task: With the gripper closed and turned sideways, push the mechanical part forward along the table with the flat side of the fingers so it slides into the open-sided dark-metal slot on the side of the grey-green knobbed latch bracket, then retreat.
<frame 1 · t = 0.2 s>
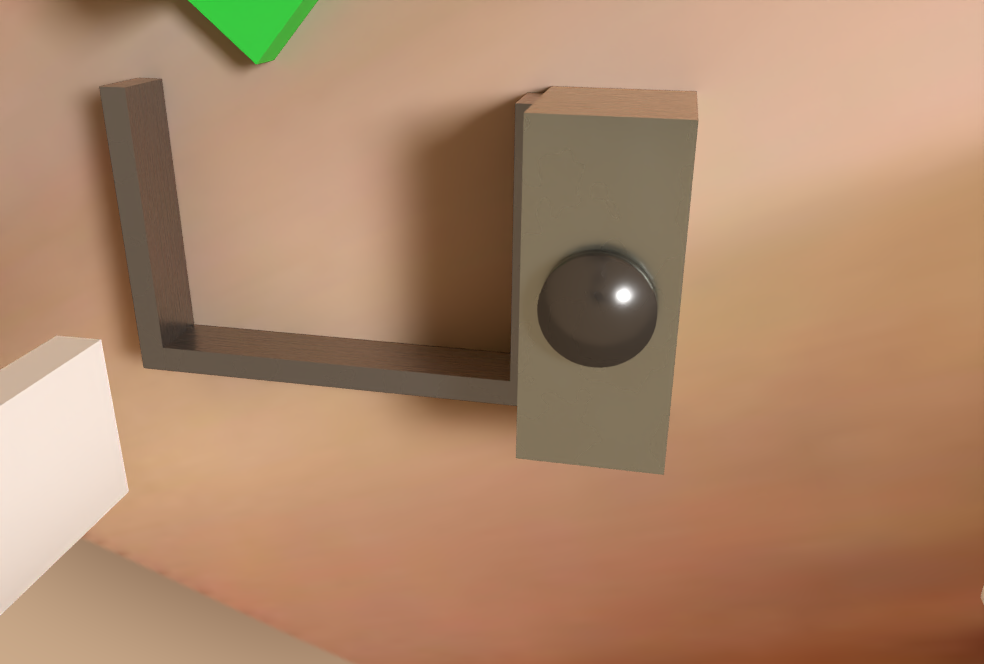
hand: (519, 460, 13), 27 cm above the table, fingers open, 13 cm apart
knobbed latch bracket: (345, 231, 42), on the table
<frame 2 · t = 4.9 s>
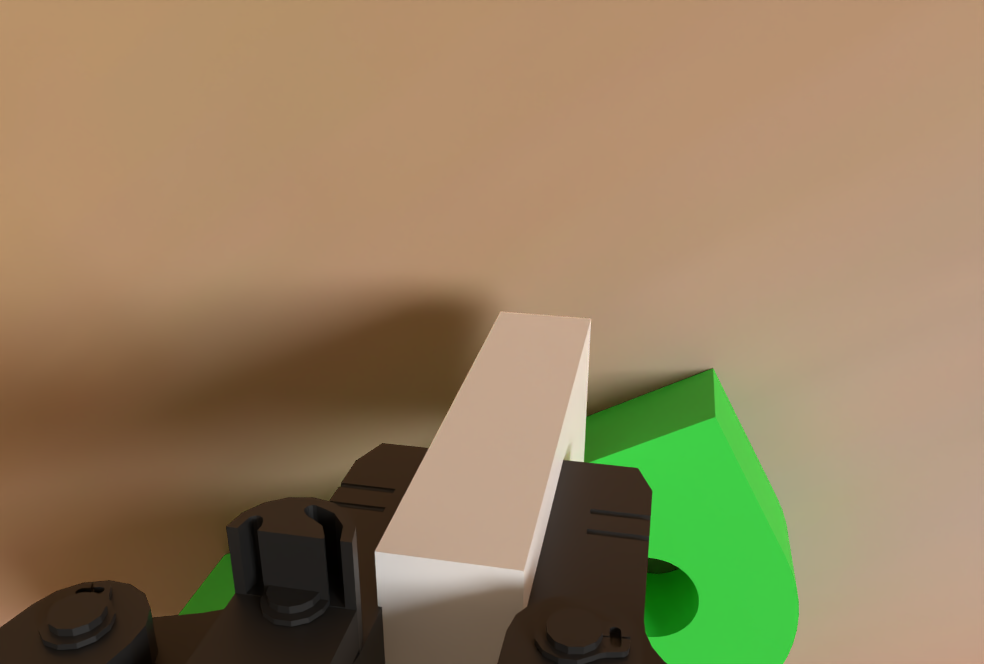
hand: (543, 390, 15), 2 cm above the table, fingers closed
mechanical part: (511, 574, 20), on the table
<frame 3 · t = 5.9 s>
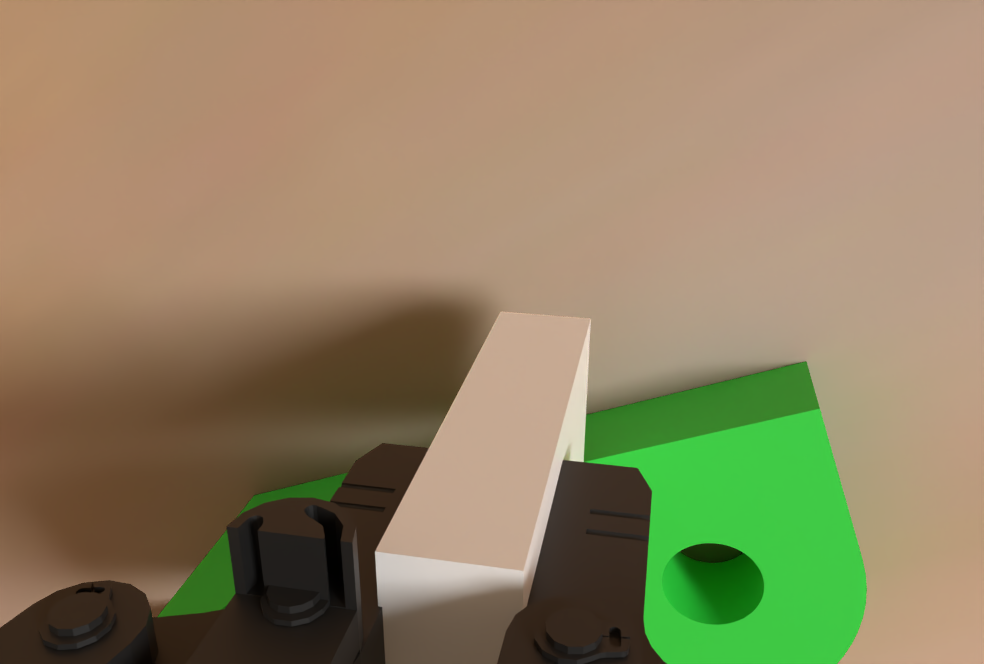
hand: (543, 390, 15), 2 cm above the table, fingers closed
mechanical part: (553, 546, 19), on the table, touching gripper
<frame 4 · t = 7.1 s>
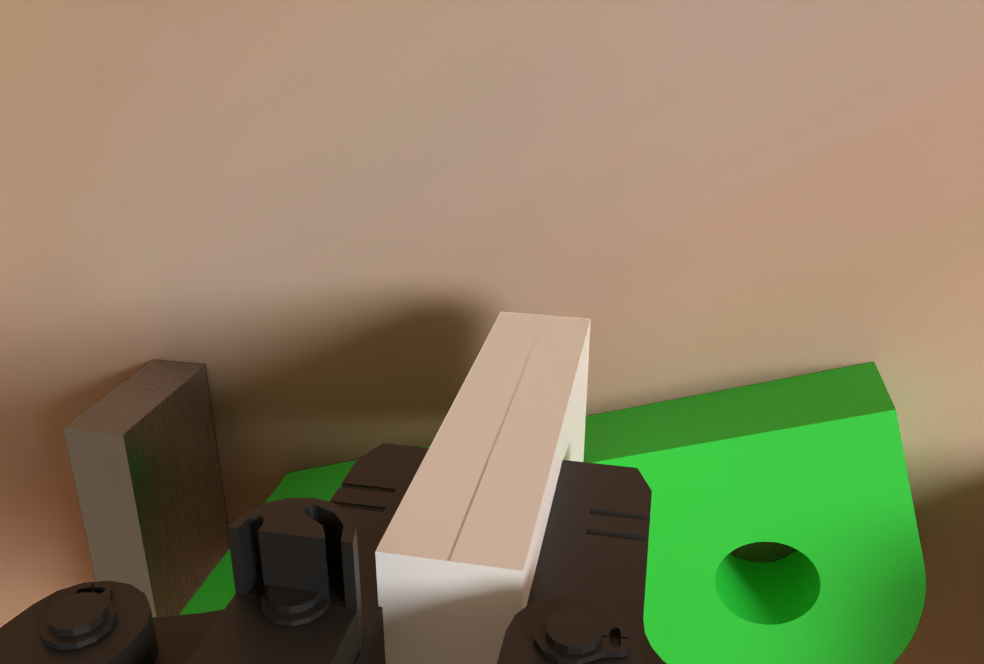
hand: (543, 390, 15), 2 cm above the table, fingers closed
mechanical part: (593, 538, 19), on the table, touching gripper
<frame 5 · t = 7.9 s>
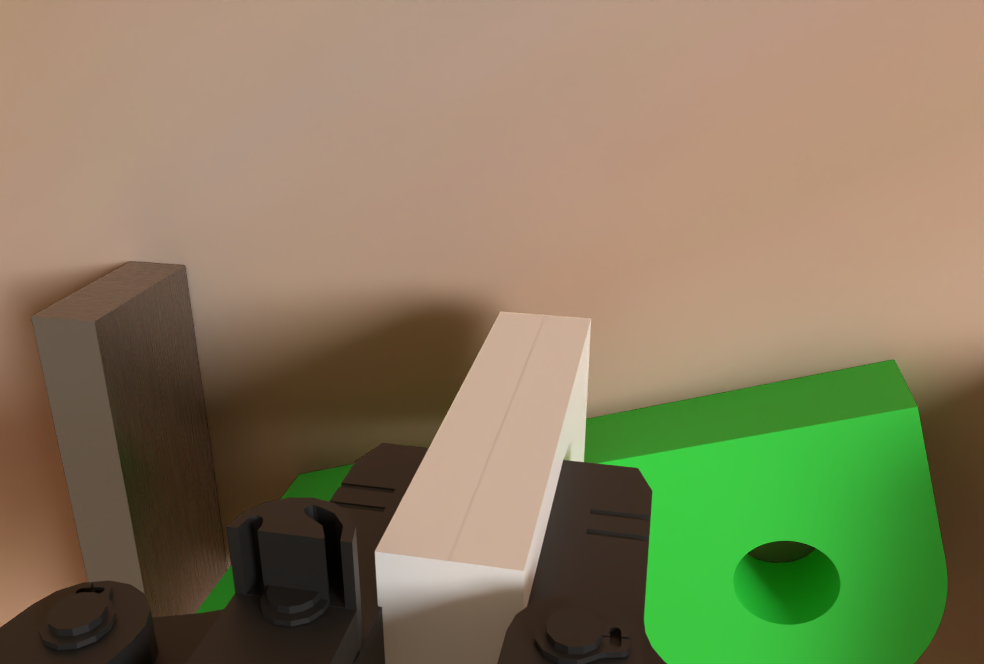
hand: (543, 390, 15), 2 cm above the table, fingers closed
knobbed latch bracket: (598, 595, 19), on the table
mechanical part: (608, 537, 19), on the table, touching gripper
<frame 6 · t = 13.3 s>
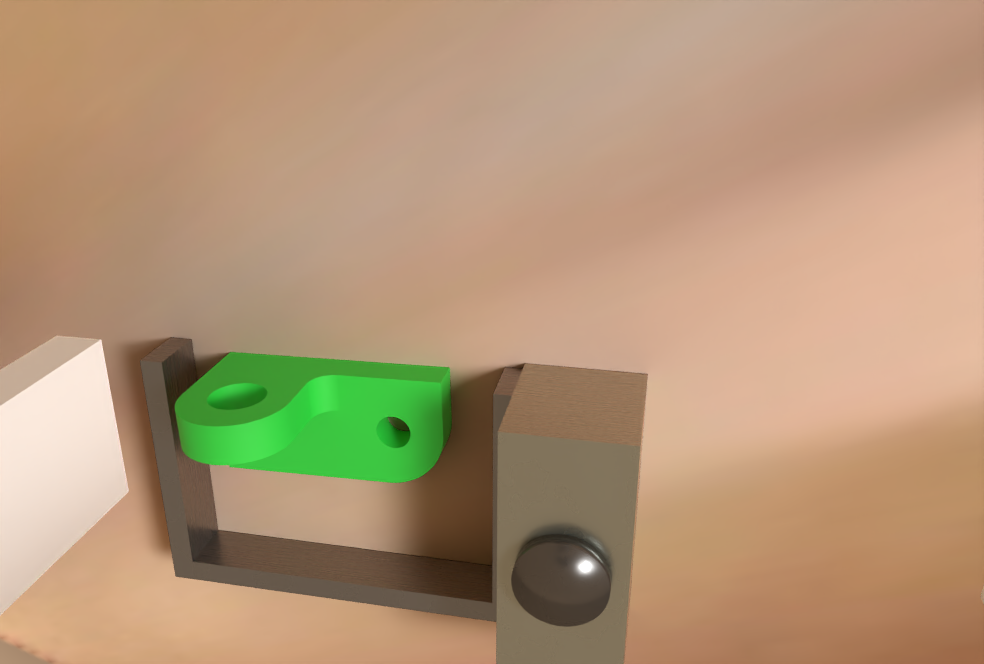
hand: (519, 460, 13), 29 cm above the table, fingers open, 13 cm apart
knobbed latch bracket: (350, 464, 49), on the table
mechanical part: (344, 407, 48), on the table
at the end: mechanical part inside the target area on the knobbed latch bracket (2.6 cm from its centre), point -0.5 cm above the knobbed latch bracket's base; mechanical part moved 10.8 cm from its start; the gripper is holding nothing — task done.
